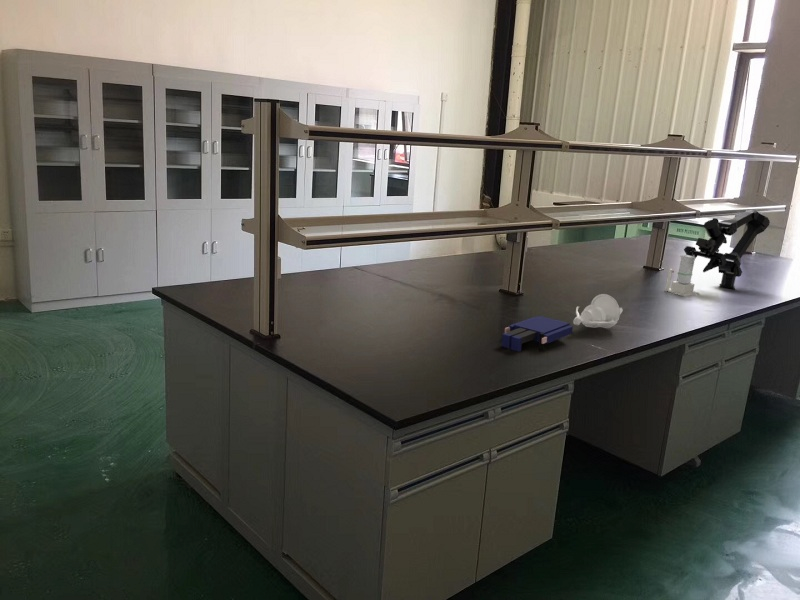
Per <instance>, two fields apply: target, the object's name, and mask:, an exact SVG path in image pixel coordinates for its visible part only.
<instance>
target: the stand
mask: <svg viewBox="0 0 800 600" xmlns="http://www.w3.org/2000/svg"><path fill="white" fill-rule="evenodd" d="M674 272H675V271H674V269H672V268H668V274H667V280H666V284H665V288H664V290H665V291H664V290H663V291H664V292H667V291H668V293H671V294H674V293H675V295H677V294H678V296H680V297H691V296H692V295H693V296H698V295H700V292H697V291H694V289H695V284H694V283H692V282H690V284H686V285H684V284H681V283H677V280H674V281H672V278H673V274H674Z"/></svg>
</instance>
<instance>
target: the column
mask: <svg viewBox="0 0 800 600" xmlns="http://www.w3.org/2000/svg"><path fill="white" fill-rule="evenodd" d="M696 258H697V257H694V256H690V255H686V254H681V255H680V261H679V268H678V272H677V279H676V281H677V283H681V284H684V285H686V284H690V283H692V276H693V270H694V265H695V261H696Z"/></svg>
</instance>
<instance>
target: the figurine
mask: <svg viewBox="0 0 800 600" xmlns="http://www.w3.org/2000/svg"><path fill="white" fill-rule="evenodd" d="M579 309H580V306H576V308H575V315H576V317H575V318H574V319H573V320H572V323H573V325H575V326H580V325H581V324H582V325H584V326H585V328H586V327H587V328H604V329H611V328H612V327H614V326H615V325H617V323H618V322H619V319H620V316H621V314H622V313H623V310H624V309H623V307H620V306H619V304H618V302H617V300H616V299H615V298H614V297H613V296H611V295H609V294H606V293H600V294H597V295H596V296H595V297H593V298H592V301H591V302H590V304H589V305H587V306H585V308H584V309H583V310H582V312H581V313H579V311H578V310H579Z"/></svg>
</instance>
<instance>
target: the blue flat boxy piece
mask: <svg viewBox="0 0 800 600" xmlns="http://www.w3.org/2000/svg"><path fill="white" fill-rule="evenodd" d="M573 329H574V328H573V326H572V325H571V324H570V322H566V321H562V320H558V319H555V318H554V319H553V318H550V317H545V316H542V315H539V316H533V317H529V318H527V319H524V320H521V321H518V322H516V323H512V324H510V325H508V327H505V328H504V333H502V334H501V335H502V337H501V347H504V348H506V349H510V350H512V351H514V352H519V353H520V352H521V351H522V344H525V343H528V342H530V341H533V342H538V343H539V345H538V347H537V349H536V350H537V351H539V352H542V353H543V352H546V351H547V349H546V347H545V344H549V343H552V342H554V341H558V340H561V339H562V338H564V337H567V336H570V335H572V334H573Z"/></svg>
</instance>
